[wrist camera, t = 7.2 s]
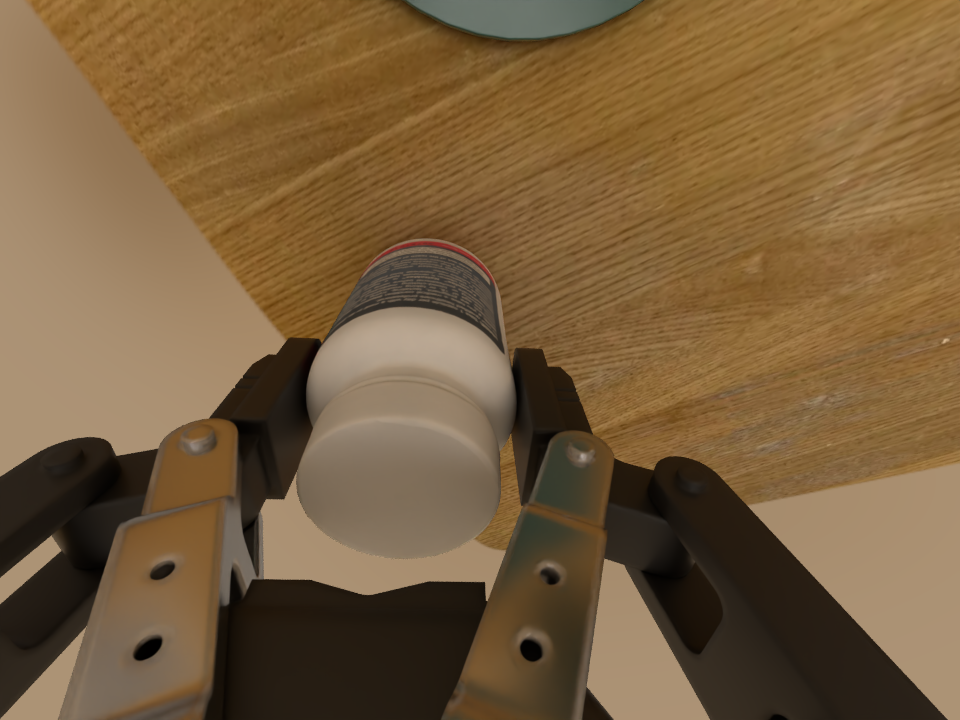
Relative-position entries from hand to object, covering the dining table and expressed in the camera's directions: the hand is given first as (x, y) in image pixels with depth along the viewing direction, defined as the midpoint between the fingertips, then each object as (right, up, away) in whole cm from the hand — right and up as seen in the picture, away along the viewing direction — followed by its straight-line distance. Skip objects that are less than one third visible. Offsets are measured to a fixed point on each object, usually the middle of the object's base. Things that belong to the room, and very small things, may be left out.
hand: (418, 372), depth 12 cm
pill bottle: (0, +2, +4) cm, 5 cm away
